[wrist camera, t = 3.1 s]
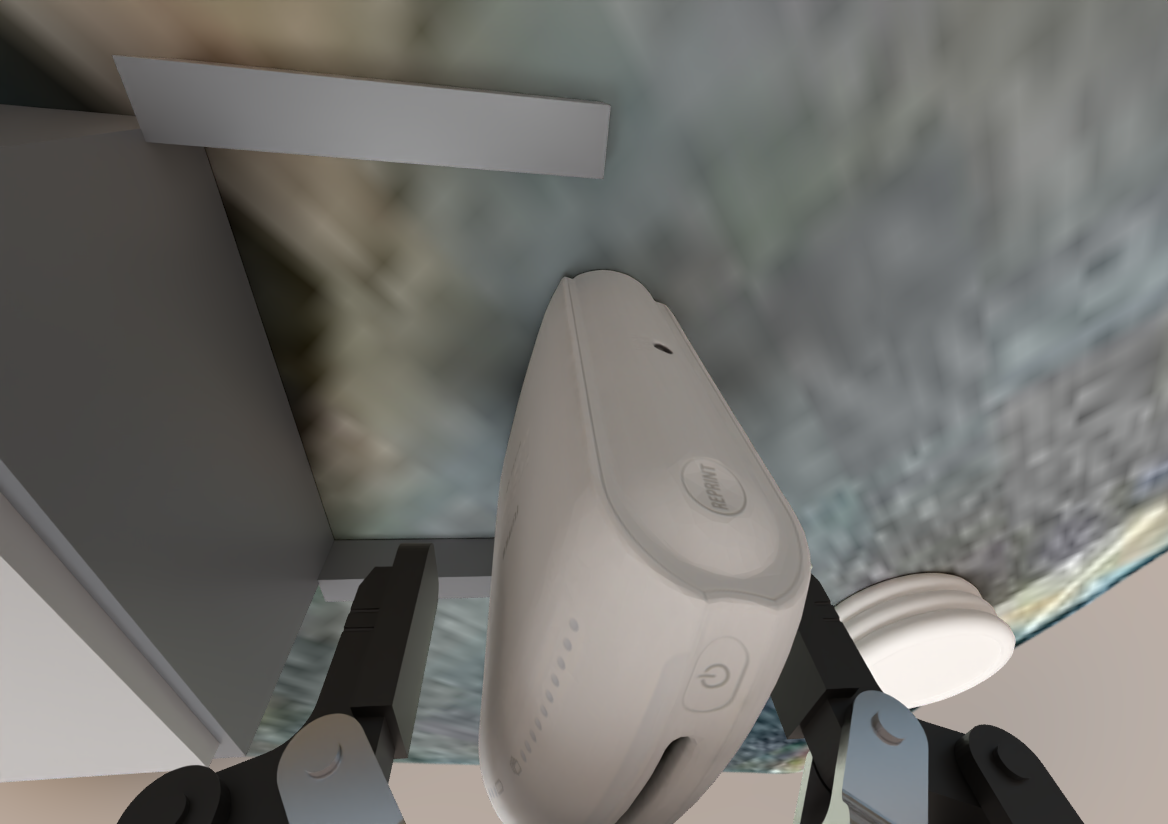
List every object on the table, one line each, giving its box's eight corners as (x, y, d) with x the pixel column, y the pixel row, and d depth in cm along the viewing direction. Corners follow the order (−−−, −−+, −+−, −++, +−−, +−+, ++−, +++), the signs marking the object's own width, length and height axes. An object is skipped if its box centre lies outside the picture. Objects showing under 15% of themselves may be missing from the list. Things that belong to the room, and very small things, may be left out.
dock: (-131, 27, 10) (-1573, -79, 3) (600, 101, 12) (691, 136, 5) (198, 564, 21) (28, 811, 14) (559, 557, 23) (571, 771, 16)
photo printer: (553, 247, 14) (599, 658, 4) (681, 283, 15) (967, 683, 5) (489, 487, 20) (444, 914, 10) (587, 502, 21) (637, 901, 11)
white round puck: (1000, 601, 29) (1050, 657, 27) (862, 671, 33) (892, 726, 31) (923, 545, 25) (973, 605, 22) (777, 633, 29) (803, 693, 26)
